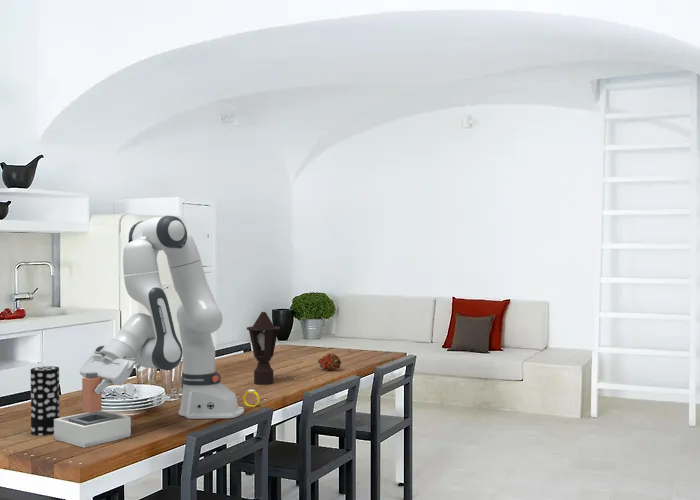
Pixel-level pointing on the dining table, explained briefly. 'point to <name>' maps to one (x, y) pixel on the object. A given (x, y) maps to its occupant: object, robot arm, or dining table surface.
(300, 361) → the dining table surface
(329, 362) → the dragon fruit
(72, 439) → the walled box
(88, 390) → the connector
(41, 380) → the spotted tube
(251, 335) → the lantern
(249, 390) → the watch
